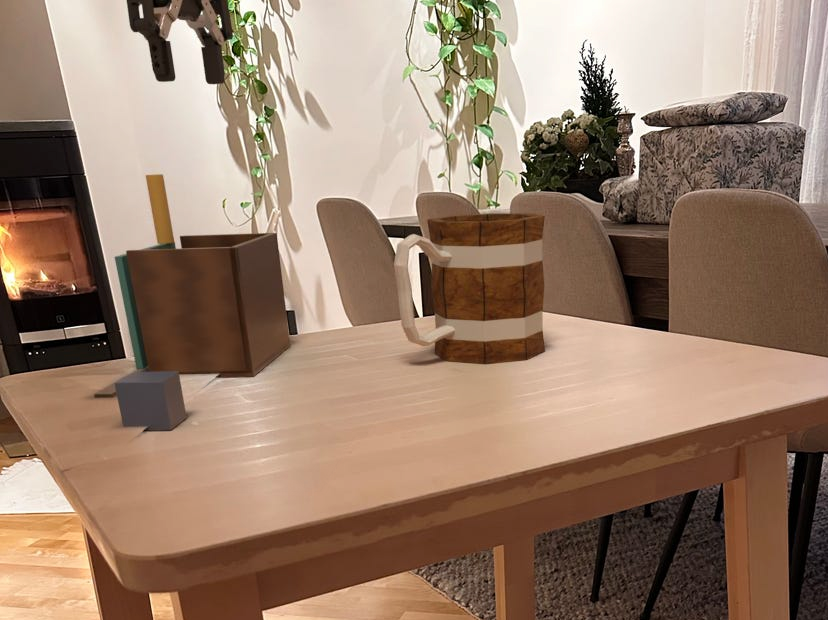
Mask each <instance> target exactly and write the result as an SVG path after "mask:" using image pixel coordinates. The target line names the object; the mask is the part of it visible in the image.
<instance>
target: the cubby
mask: <svg viewBox="0 0 828 620" xmlns="http://www.w3.org/2000/svg"><path fill="white" fill-rule="evenodd" d="M179 240H180V246H181V247H180V248H176V249H148V250H141V249H128V250H126V251H125V254H127V259H128V264H129V269H130V274H131V280H132V285H133V290H134V295H135V300H136V306H137V311H138V316H139V321H140V327H141V332H142V337H143V342H144V347H145V353H146V358H147V363H148V367H146V368H144V369H137V368H136V370H134V371H133V372H158V371H178V372H179V376H181V375H216V376H214V378H216V379H217V378H254V377H255V376H256V375H257V374H259V373H260V372H261V371H262V370H264V368H267V366H268V365H269V364H271V363H272V362H273V361H274V360H275V359H276V358H278V357H279V356H280V355H282V354H283V353H284V352H285V351H286V350H287V349H288V348H291V339H290V332H289V331H290V330H289V322H288V315H287V306H286V298H285V291H284V283H283V275H282V274H283V273H282V266H281V257H280V249H279V242H278V241H279V240H278V234H277V232H259V233H255V232H253V233H227V234H226V233H224V234H223V233H222V234H191V235H186V234H185V235H179ZM114 383H115V382H113V383H111V384H110V385H108V386H106V387H104V388H102V389H101V390H99V391H97V392H96V393H94V394H93V397H94V398H95V399H101V398H102V399H103V398H105V399H106V398H107V399H108V398H115V397H117V394H116V389H115V384H114Z"/></svg>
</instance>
